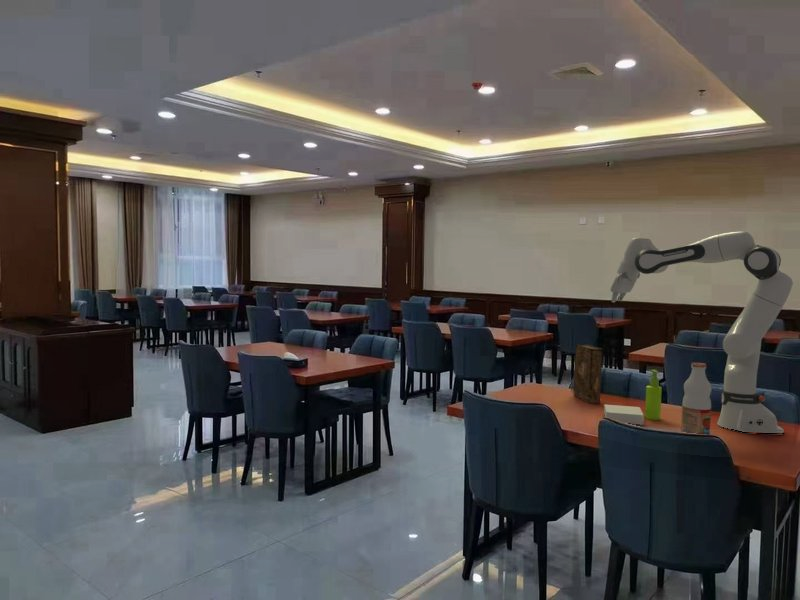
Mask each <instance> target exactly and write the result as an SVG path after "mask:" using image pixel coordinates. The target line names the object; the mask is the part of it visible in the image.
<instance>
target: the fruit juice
mask: <svg viewBox="0 0 800 600" xmlns="http://www.w3.org/2000/svg"><path fill="white" fill-rule="evenodd" d="M690 368H691V372H690V375H689V377H688V378H687V379H686V380H685V382H684V383H683V391H684V395H683V398H682V403H681V406H682V407H681V427H680V433H681V432H686V433H696V434H707V435H710V434H711V418H712V417H711V415H712V400H711V398H710V397H711V394H712V384H711V383H710V381H709V380H708V378H707V375H706V369H707V364H706V363H703V362H695V361H694V362H691V364H690Z"/></svg>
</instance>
